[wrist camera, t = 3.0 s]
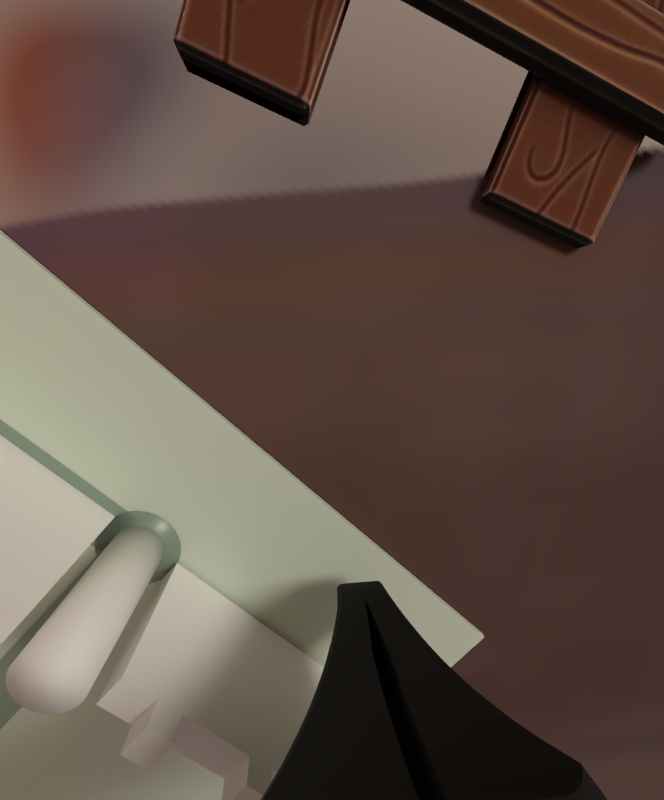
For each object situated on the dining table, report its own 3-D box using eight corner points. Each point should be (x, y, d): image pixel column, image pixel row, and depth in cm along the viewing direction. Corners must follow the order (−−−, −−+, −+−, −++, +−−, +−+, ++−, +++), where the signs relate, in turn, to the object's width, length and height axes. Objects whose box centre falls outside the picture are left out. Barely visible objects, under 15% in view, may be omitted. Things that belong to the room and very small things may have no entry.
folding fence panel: (158, 582, 12) (81, 732, 8) (176, 563, 12) (108, 705, 8) (337, 705, 14) (356, 885, 10) (354, 689, 14) (380, 864, 10)
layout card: (184, 900, 16) (183, 909, 16) (-450, 595, 11) (-466, 601, 11) (482, 632, 14) (484, 637, 14) (-115, 133, 10) (-126, 129, 9)
